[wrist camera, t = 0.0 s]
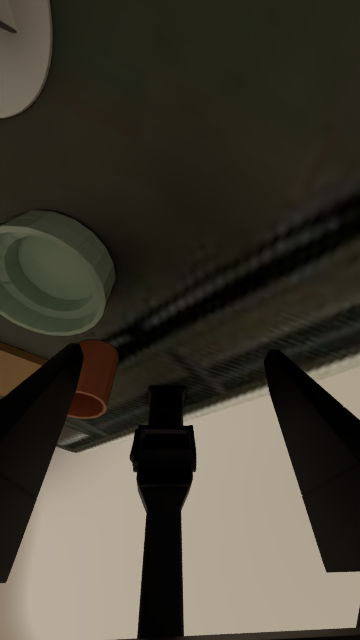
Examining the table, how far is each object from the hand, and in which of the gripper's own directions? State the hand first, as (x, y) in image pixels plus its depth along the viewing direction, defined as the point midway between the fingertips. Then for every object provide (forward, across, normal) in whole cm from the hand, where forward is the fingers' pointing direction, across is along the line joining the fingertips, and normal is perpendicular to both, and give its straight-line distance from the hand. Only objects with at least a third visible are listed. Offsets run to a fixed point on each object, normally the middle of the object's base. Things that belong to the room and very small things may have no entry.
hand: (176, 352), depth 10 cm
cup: (+15, +11, +18) cm, 25 cm away
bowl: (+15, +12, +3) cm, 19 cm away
